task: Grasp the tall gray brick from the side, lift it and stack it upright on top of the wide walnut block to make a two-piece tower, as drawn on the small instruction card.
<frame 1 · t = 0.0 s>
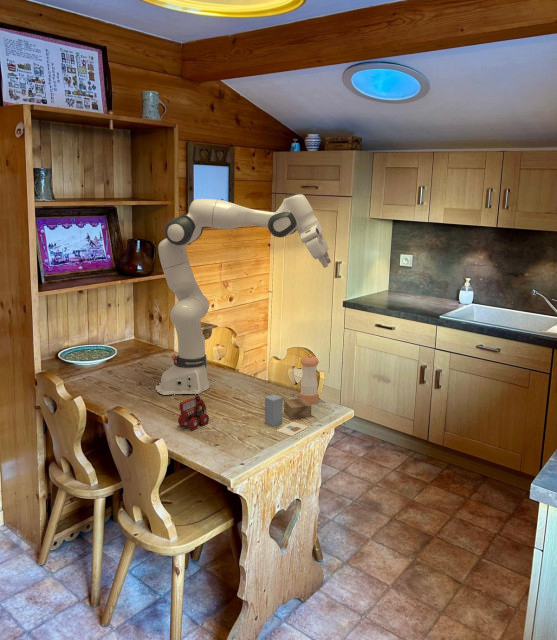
hand: (327, 265, 234), 54 cm above the table, tool tilted 30°, fingers open, 8 cm apart
instruction card: (292, 429, 217), on the table
pepper shaker: (308, 401, 244), on the table
toy fire truck: (194, 425, 221), on the table
gray brick: (273, 423, 222), on the table
walnut block: (297, 415, 230), on the table
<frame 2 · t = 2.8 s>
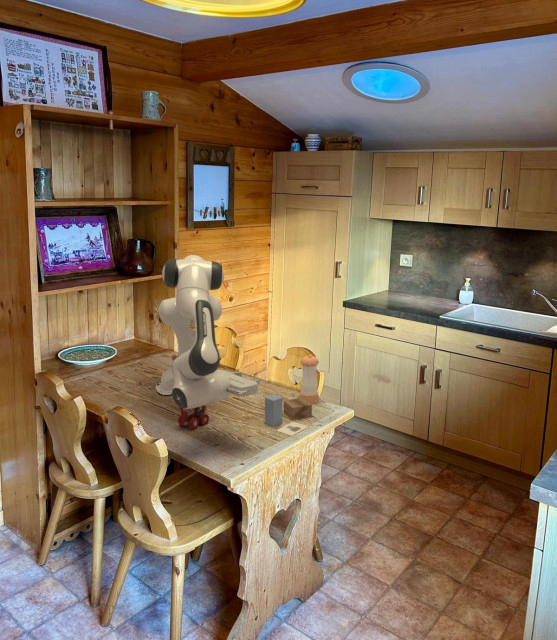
hand: (249, 377, 210), 20 cm above the table, tool horizontal, fingers open, 8 cm apart
nothing on the table moved.
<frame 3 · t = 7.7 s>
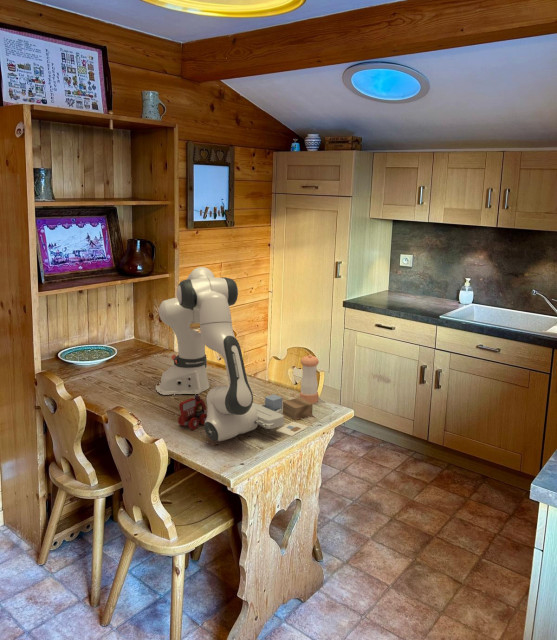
hand: (275, 408, 222), 6 cm above the table, tool horizontal, fingers closed on gray brick, 4 cm apart
gray brick: (273, 423, 222), on the table, touching gripper
when the fingers open (11 cm above the table, at t = 11.8 s): gray brick drops 1 cm, resting on walnut block.
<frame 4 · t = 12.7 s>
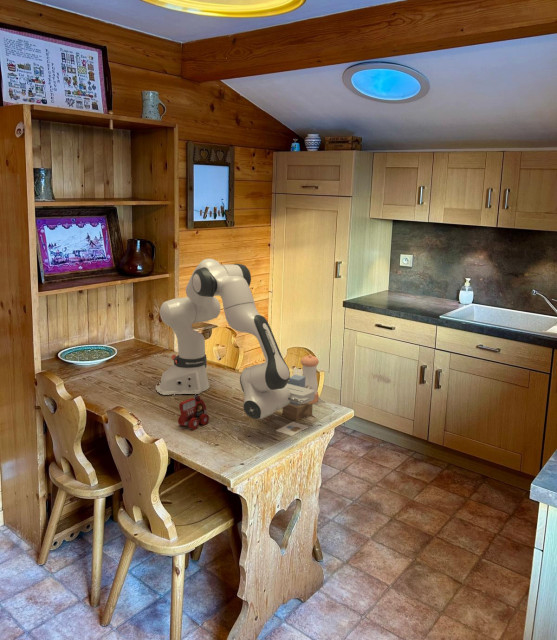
hand: (299, 385, 228), 11 cm above the table, tool horizontal, fingers open, 8 cm apart
gray brick: (296, 402, 229), point 5 cm above the table, touching walnut block
walnut block: (297, 415, 230), on the table, touching gray brick
everything else where it was.
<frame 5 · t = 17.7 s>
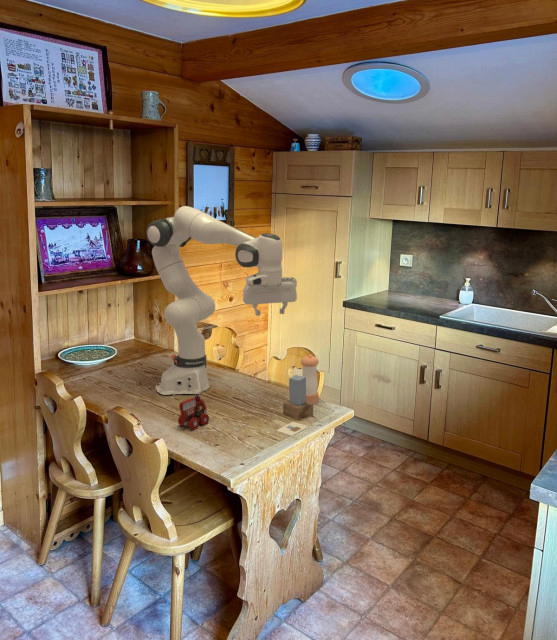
hand: (270, 314, 228), 37 cm above the table, tool pointing down, fingers open, 8 cm apart
nothing on the table moved.
at the end: gray brick 0.4 cm off-centre on the walnut block, point 5.1 cm above the walnut block's base; gray brick tilted 1°; the gripper is holding nothing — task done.
